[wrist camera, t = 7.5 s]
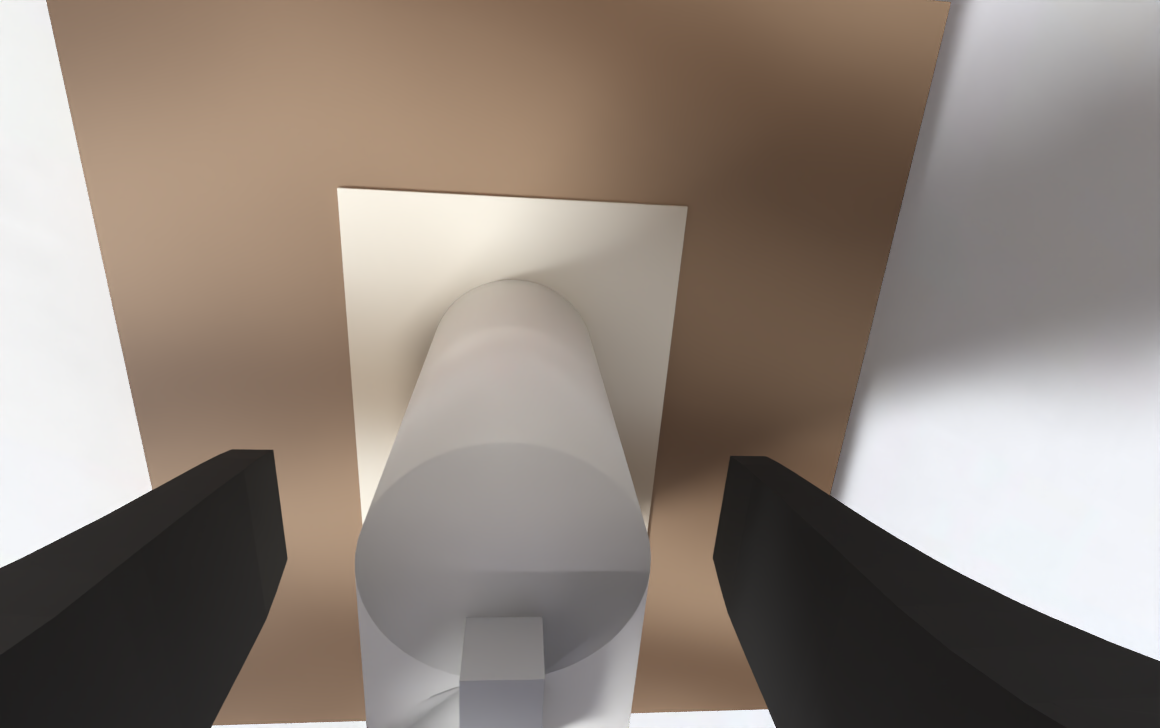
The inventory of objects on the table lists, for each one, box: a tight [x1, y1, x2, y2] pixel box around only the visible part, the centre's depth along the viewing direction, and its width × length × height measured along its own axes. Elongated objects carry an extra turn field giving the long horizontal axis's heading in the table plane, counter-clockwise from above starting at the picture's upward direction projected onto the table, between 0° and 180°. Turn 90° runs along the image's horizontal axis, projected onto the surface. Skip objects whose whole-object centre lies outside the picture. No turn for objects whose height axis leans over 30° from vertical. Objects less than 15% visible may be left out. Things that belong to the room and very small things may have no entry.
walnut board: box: [46, 0, 951, 725], centre depth 13 cm, size 16×14×1 cm
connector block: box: [355, 280, 651, 728], centre depth 9 cm, size 6×3×7 cm, turn 176°
